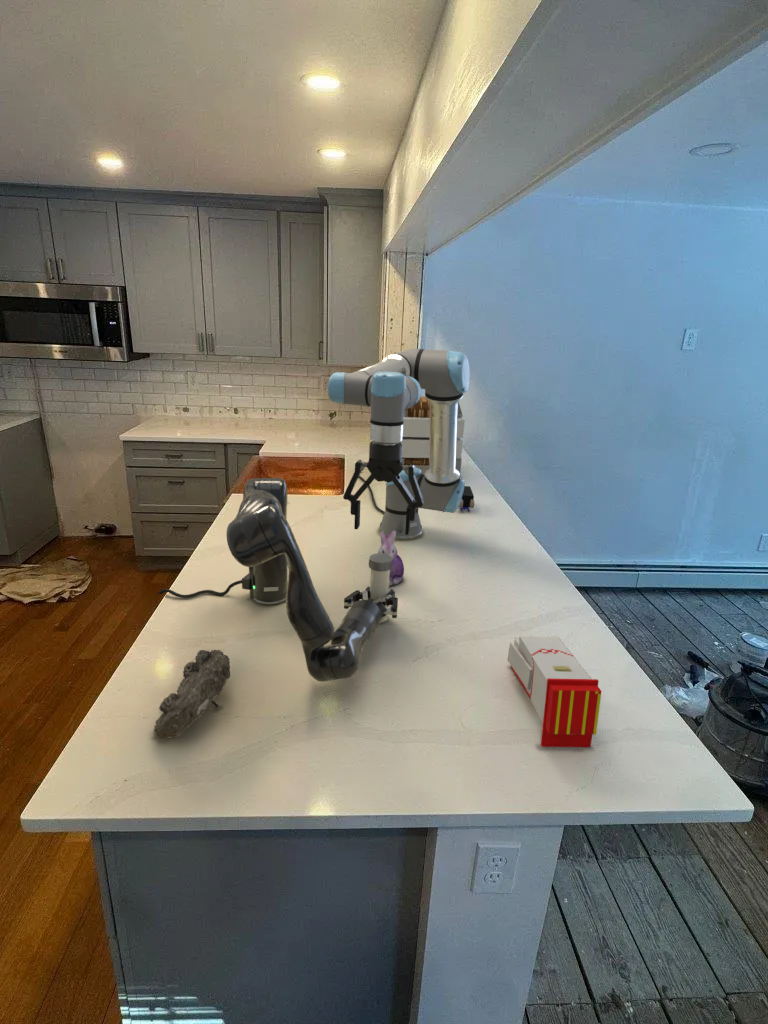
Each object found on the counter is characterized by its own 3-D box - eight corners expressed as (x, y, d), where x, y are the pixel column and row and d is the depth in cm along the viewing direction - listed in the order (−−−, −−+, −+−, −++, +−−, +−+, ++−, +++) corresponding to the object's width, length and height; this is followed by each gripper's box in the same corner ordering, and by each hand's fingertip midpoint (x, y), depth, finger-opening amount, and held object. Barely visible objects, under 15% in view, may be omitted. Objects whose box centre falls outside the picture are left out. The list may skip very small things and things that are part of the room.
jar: (389, 621, 144) (392, 562, 138) (371, 623, 142) (374, 564, 137) (384, 612, 148) (387, 554, 142) (366, 614, 147) (368, 556, 141)
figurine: (383, 590, 159) (385, 540, 154) (367, 575, 168) (368, 528, 163) (412, 584, 163) (415, 536, 158) (395, 569, 172) (397, 523, 167)
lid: (394, 570, 139) (395, 561, 138) (372, 572, 137) (372, 563, 136) (388, 560, 144) (388, 552, 143) (366, 562, 142) (366, 554, 141)
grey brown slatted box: (382, 463, 289) (386, 382, 275) (445, 464, 293) (451, 384, 279) (390, 482, 257) (394, 392, 243) (460, 483, 261) (468, 394, 247)
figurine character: (474, 517, 223) (468, 500, 237) (476, 499, 220) (470, 484, 233) (457, 516, 223) (452, 500, 236) (459, 499, 220) (454, 483, 233)
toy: (555, 619, 129) (611, 687, 100) (550, 674, 132) (602, 754, 102) (502, 618, 128) (542, 685, 99) (498, 673, 131) (536, 754, 102)
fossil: (181, 651, 120) (231, 619, 115) (213, 681, 123) (262, 651, 118) (130, 732, 101) (187, 698, 96) (169, 765, 103) (226, 734, 99)
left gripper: (390, 614, 127) (410, 581, 142) (331, 602, 131) (356, 572, 146) (389, 643, 129) (408, 608, 145) (331, 630, 133) (355, 598, 149)
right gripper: (439, 442, 131) (432, 529, 139) (339, 434, 135) (337, 519, 142) (437, 449, 124) (430, 540, 132) (330, 441, 128) (329, 530, 135)
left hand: (382, 590), depth 145 cm, fingers closed on jar, 4 cm apart
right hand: (382, 530), depth 137 cm, fingers open, 12 cm apart
